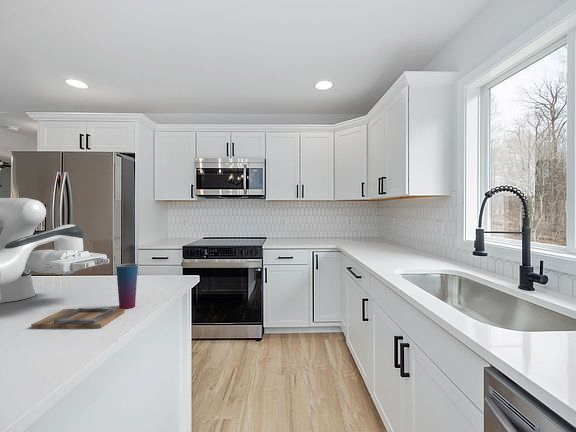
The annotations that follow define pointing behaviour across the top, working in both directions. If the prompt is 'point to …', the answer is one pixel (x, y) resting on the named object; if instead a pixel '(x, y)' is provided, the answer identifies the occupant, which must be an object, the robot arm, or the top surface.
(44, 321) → the board
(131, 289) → the cup
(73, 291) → the top surface
